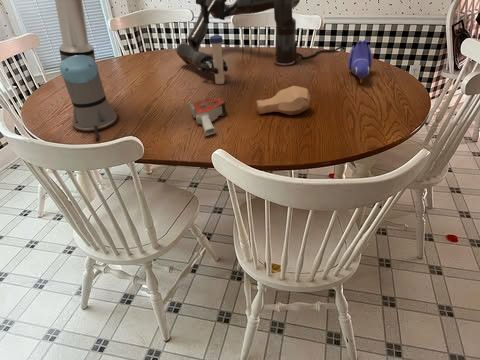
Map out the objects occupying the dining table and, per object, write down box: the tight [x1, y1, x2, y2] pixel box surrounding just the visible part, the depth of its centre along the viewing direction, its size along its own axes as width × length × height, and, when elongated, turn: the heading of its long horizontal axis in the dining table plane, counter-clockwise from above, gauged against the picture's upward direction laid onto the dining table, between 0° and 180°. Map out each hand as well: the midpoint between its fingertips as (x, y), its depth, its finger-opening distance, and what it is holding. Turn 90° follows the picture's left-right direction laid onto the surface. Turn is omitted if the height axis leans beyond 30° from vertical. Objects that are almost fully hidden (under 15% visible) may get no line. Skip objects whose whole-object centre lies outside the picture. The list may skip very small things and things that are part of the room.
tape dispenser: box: [188, 97, 226, 137], centre depth 128 cm, size 18×5×20 cm
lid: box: [209, 34, 224, 44], centre depth 149 cm, size 5×5×2 cm
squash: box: [255, 85, 312, 116], centre depth 130 cm, size 11×20×9 cm, turn 92°
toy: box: [347, 39, 373, 84], centre depth 152 cm, size 10×17×25 cm
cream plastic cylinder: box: [211, 42, 225, 85], centre depth 154 cm, size 4×4×19 cm
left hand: (214, 21), depth 145 cm, fingers open, 7 cm apart
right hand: (222, 70), depth 155 cm, fingers closed on cream plastic cylinder, 4 cm apart
